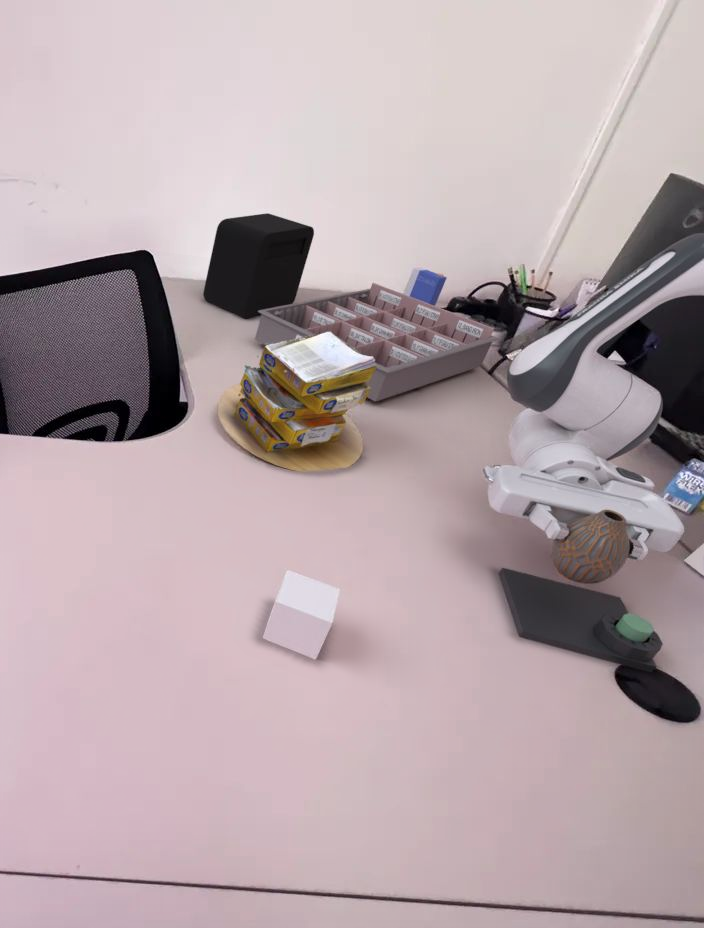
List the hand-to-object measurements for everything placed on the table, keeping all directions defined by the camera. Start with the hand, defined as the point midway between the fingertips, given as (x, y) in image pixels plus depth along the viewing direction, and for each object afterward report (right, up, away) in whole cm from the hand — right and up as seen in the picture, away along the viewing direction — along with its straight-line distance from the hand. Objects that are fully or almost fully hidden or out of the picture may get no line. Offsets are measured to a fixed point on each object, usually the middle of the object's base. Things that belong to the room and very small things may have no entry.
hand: (598, 545), depth 78 cm
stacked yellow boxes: (-23, +16, +39) cm, 48 cm away
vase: (0, -4, +4) cm, 5 cm away
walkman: (+27, +49, +94) cm, 110 cm away
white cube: (-35, -10, 0) cm, 37 cm away
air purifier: (-16, +52, +92) cm, 106 cm away
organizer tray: (+4, +34, +69) cm, 77 cm away
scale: (+1, -10, +6) cm, 11 cm away
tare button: (+4, -10, +1) cm, 11 cm away
